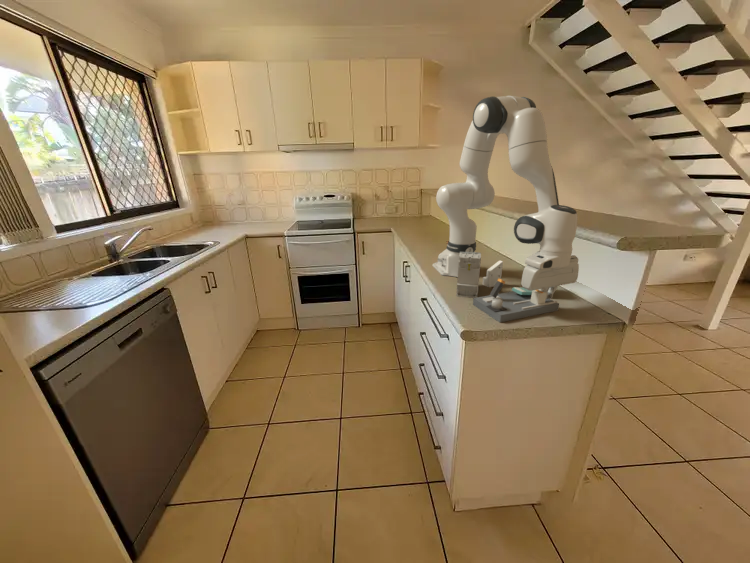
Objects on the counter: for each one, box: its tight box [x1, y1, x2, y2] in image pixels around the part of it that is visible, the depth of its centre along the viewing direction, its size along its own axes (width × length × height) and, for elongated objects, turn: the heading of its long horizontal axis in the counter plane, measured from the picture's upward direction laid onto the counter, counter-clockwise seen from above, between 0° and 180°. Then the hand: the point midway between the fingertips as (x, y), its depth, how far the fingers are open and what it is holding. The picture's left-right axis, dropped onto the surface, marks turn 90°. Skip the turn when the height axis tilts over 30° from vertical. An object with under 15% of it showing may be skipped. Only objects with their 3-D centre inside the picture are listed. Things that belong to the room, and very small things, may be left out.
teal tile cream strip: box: [511, 286, 533, 295], centre depth 108 cm, size 8×5×1 cm, turn 108°
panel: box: [472, 290, 560, 323], centre depth 104 cm, size 14×23×3 cm, turn 108°
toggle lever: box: [489, 278, 506, 298], centre depth 104 cm, size 2×2×6 cm
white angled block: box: [482, 260, 504, 288], centre depth 124 cm, size 4×10×9 cm, turn 110°
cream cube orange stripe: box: [530, 289, 547, 305], centre depth 101 cm, size 3×3×4 cm
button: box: [491, 298, 503, 309], centre depth 99 cm, size 3×3×2 cm
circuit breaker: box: [455, 251, 482, 298], centre depth 118 cm, size 8×14×15 cm, turn 163°
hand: (546, 298), depth 103 cm, fingers closed
